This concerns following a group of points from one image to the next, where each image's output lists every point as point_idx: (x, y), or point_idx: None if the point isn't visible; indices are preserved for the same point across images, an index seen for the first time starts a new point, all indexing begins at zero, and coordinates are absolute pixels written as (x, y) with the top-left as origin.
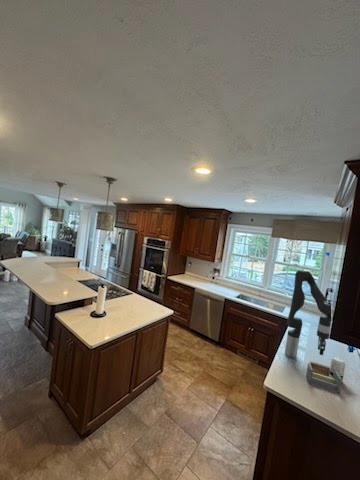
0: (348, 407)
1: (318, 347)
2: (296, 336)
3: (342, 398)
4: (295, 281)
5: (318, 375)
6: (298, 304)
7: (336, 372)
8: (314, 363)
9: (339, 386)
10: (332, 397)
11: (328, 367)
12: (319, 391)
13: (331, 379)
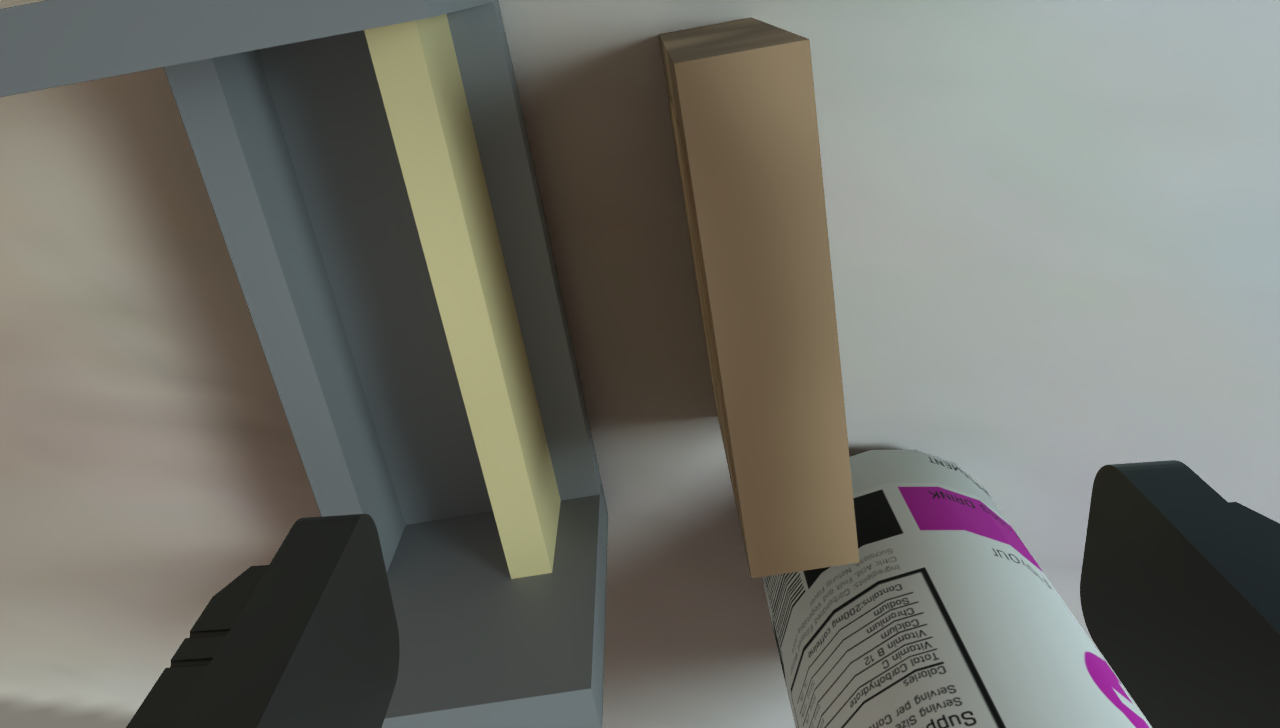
0: (31, 630)
1: (1164, 551)
2: None
3: None
4: None
5: (429, 249)
6: None
7: (531, 716)
8: (719, 174)
9: None
10: (88, 438)
11: (785, 547)
12: (58, 227)
13: (500, 513)
